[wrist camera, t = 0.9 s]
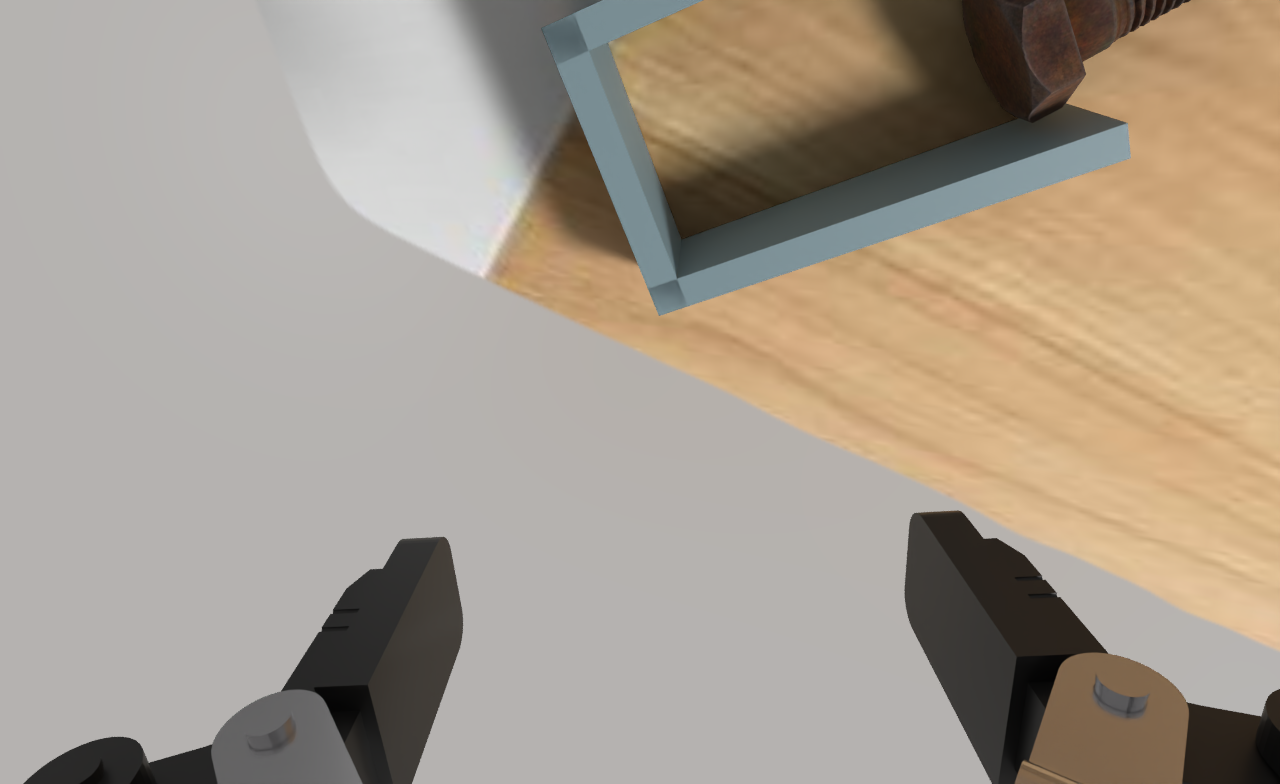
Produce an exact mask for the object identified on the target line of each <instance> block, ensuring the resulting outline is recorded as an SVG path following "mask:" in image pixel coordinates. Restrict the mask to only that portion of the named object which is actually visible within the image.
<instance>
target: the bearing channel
mask: <svg viewBox="0 0 1280 784" xmlns="http://www.w3.org/2000/svg"><path fill="white" fill-rule="evenodd" d="M700 1H703V0H602V1H599V2H597V3H595V4H593V5H591V6H588V7H586V8H584V9H582V10H580V11H578V12H575V13H573V14H571V15H569V16H567V17H565V18H562V19H560V20H558V21H556V22H554V23H551V24H549V25H547V26H545V27H543V28H541V29H542V31H543V34H544V36H545V39H546V41H547V43H548V46H549V48H550V51H551V53H552V56H553V58H554V61H555V63H556V65H557V68H558V70H559V73H560V75H561V78H562V80H563V83H564V85H565V87H566V90H567V92H568V95H569V97H570V100H571V102H572V104H573V107H574V109H575V112H576V114H577V117H578V119H579V122H580V124H581V126H582V129H583V131H584V134H585V136H586V139H587V141H588V144H589V146H590V148H591V151H592V153H593V156H594V158H595V161H596V163H597V166H598V168H599V170H600V173H601V175H602V178H603V180H604V183H605V185H606V187H607V190H608V192H609V195H610V197H611V200H612V202H613V205H614V207H615V209H616V212H617V214H618V217H619V219H620V222H621V224H622V227H623V229H624V231H625V234H626V236H627V239H628V241H629V244H630V246H631V249H632V251H633V253H634V256H635V258H636V261H637V263H638V266H639V268H640V270H641V273H642V275H643V278H644V280H645V283H646V285H647V288H648V290H649V292H650V295H651V297H652V300H653V302H654V305H655V307H656V310H657V312H658V314H659V316H660V315H663V314H666V313H669V312H672V311H675V310H678V309H681V308H684V307H687V306H690V305H693V304H696V303H699V302H702V301H705V300H708V299H711V298H714V297H717V296H720V295H723V294H726V293H729V292H732V291H735V290H738V289H741V288H744V287H747V286H750V285H753V284H756V283H759V282H762V281H765V280H768V279H771V278H774V277H777V276H780V275H783V274H786V273H789V272H792V271H795V270H798V269H801V268H804V267H807V266H810V265H813V264H816V263H819V262H822V261H825V260H828V259H831V258H834V257H837V256H840V255H843V254H846V253H849V252H852V251H855V250H858V249H861V248H864V247H867V246H870V245H873V244H876V243H879V242H882V241H885V240H888V239H891V238H894V237H897V236H900V235H903V234H906V233H909V232H912V231H914V230H917V229H920V228H923V227H926V226H929V225H932V224H935V223H938V222H941V221H944V220H947V219H950V218H953V217H956V216H959V215H962V214H965V213H968V212H971V211H974V210H977V209H980V208H983V207H986V206H989V205H992V204H995V203H998V202H1001V201H1004V200H1007V199H1010V198H1013V197H1016V196H1019V195H1022V194H1025V193H1028V192H1031V191H1034V190H1037V189H1040V188H1043V187H1046V186H1049V185H1052V184H1055V183H1058V182H1061V181H1064V180H1067V179H1070V178H1073V177H1076V176H1079V175H1082V174H1085V173H1088V172H1091V171H1094V170H1097V169H1100V168H1103V167H1106V166H1109V165H1112V164H1115V163H1118V162H1121V161H1124V160H1127V159H1130V158H1131V156H1130V145H1129V133H1128V123H1126V122H1123V121H1120V120H1116V119H1113V118H1110V117H1107V116H1104V115H1101V114H1097V113H1094V112H1091V111H1088V110H1085V109H1082V108H1079V107H1075V106H1072V105H1069V104H1066V103H1065V105H1064V106H1063V107H1062V108H1061V109H1059V110H1057V111H1055V112H1053V113H1051V114H1049V115H1047V116H1045V117H1043V118H1041V119H1040V120H1038V121H1036V122H1034V123H1031V122H1028V121H1025V120H1023V119H1020V118H1019V119H1016V120H1013V121H1010V122H1008V123H1005V124H1002V125H999V126H996V127H994V128H991V129H988V130H985V131H983V132H980V133H977V134H974V135H971V136H969V137H966V138H963V139H960V140H958V141H955V142H952V143H949V144H946V145H944V146H941V147H938V148H935V149H932V150H930V151H927V152H924V153H921V154H919V155H916V156H913V157H910V158H907V159H905V160H902V161H899V162H896V163H893V164H891V165H888V166H885V167H882V168H880V169H877V170H874V171H871V172H868V173H866V174H863V175H860V176H857V177H855V178H852V179H849V180H846V181H843V182H841V183H838V184H835V185H832V186H829V187H827V188H824V189H821V190H818V191H816V192H813V193H810V194H807V195H804V196H802V197H799V198H796V199H793V200H791V201H788V202H785V203H782V204H779V205H777V206H774V207H771V208H768V209H765V210H763V211H760V212H757V213H754V214H752V215H749V216H746V217H743V218H740V219H738V220H735V221H732V222H729V223H726V224H724V225H721V226H718V227H715V228H713V229H710V230H707V231H704V232H701V233H699V234H696V235H693V236H690V237H688V238H685V239H682V240H681V237H680V234H679V232H678V229H677V226H676V224H675V221H674V218H673V216H672V213H671V210H670V208H669V205H668V202H667V200H666V197H665V194H664V192H663V189H662V186H661V184H660V181H659V178H658V176H657V173H656V170H655V168H654V165H653V162H652V160H651V157H650V154H649V152H648V149H647V146H646V144H645V141H644V138H643V136H642V133H641V130H640V128H639V125H638V122H637V120H636V117H635V114H634V112H633V109H632V106H631V104H630V101H629V98H628V96H627V93H626V91H625V88H624V85H623V83H622V80H621V77H620V75H619V72H618V69H617V67H616V64H615V61H614V59H613V56H612V53H611V51H610V48H609V45H608V42H610V41H612V40H614V39H617V38H619V37H621V36H623V35H626V34H628V33H630V32H633V31H635V30H637V29H639V28H642V27H644V26H646V25H648V24H651V23H653V22H655V21H657V20H660V19H662V18H664V17H666V16H669V15H671V14H673V13H675V12H678V11H680V10H682V9H684V8H687V7H689V6H691V5H693V4H696V3H698V2H700Z"/></svg>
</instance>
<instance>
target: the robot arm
mask: <svg viewBox="0 0 1280 784" xmlns="http://www.w3.org/2000/svg"><path fill="white" fill-rule="evenodd" d="M1056 594H1057V593H1056V592H1055V591H1054V589H1053V588H1052V587H1051V586H1050V585H1049V583H1048V582H1047V581H1046V580H1042V575H1041V574H1040V573H1039V572H1038V571H1037V569H1036V568H1035V567H1034V566H1033V565H1032V564H1031V563H1030V561H1029V560H1028V559H1027V558H1026V557H1025V555H1023V554H1022V553H1020V552H1018V551H1016V550H1015V549H1013V548H1012V547H1010V546H1008V545H1007V544H1005V543H1004V542H1002V541H1000V540H999V539H997V538H992V539H983V537H982V536H981V535H980V534H979V532H978V531H977V530H976V529H975V528H974V526H973V525H972V523H971V522H970V521H969V520H968V518H967V517H966V516H965V515H964V514H963V513H962V512H961V511H942V512H924V513H914V514H913V515H912V517H911V520H910V526H909V538H908V551H907V565H906V578H905V602H906V609H907V614H908V618H909V621H910V624H911V627H912V629H913V631H914V633H915V634H916V637H917V639H918V641H919V642H920V644H921V646H922V648H923V650H924V652H925V654H926V656H927V658H928V660H929V662H930V664H931V666H932V668H933V670H934V672H935V674H936V675H937V677H938V679H939V681H940V683H941V685H942V687H943V689H944V691H945V693H946V695H947V697H948V699H949V700H950V703H951V705H952V707H953V709H954V710H955V712H956V714H957V716H958V718H959V720H960V722H961V724H962V726H963V728H964V730H965V732H966V734H967V736H968V738H969V739H970V741H971V743H972V745H973V747H974V749H975V751H976V753H977V755H978V757H979V759H980V761H981V763H982V765H983V767H984V769H985V771H986V773H987V774H988V777H989V778H990V780H991V782H992V784H1280V689H1279V690H1277V691H1274V692H1273V693H1272V694H1270V695H1269V696H1268V699H1267V701H1266V703H1265V706H1264V710H1263V713H1262V716H1255V715H1250V714H1244V713H1239V712H1233V711H1228V710H1222V709H1217V708H1211V707H1206V706H1200V705H1196V704H1191V703H1187V702H1186V700H1185V698H1184V697H1183V695H1182V694H1181V692H1180V691H1179V690H1178V689H1177V688H1176V687H1175V686H1174V685H1173V684H1172V683H1171V682H1170V681H1169V680H1168V679H1166V678H1165V677H1163V676H1162V675H1161V674H1159V673H1158V672H1156V671H1154V670H1152V669H1151V668H1149V667H1147V666H1145V665H1143V664H1141V663H1138V662H1135V661H1133V660H1130V659H1128V658H1124V657H1121V656H1117V655H1111V654H1108V653H1107V651H1106V650H1105V649H1104V648H1103V647H1102V645H1101V644H1100V643H1099V642H1098V641H1097V640H1096V638H1095V637H1094V636H1093V635H1092V634H1091V633H1090V631H1089V630H1088V629H1087V628H1086V627H1085V626H1084V624H1083V623H1082V622H1081V621H1080V620H1079V619H1078V618H1077V616H1076V615H1075V614H1074V613H1073V612H1072V610H1071V609H1070V608H1069V607H1068V606H1067V605H1066V603H1065V602H1064V601H1063V600H1062V599H1061V598H1060V597H1057V595H1056ZM462 633H463V614H462V607H461V602H460V596H459V591H458V586H457V581H456V575H455V570H454V565H453V559H452V554H451V549H450V545H449V543H448V540H447V539H446V538H445V537H433V538H414V539H402V540H400V541H399V542H398V544H397V546H396V547H395V549H394V551H393V552H392V554H391V556H390V558H389V559H388V561H387V563H386V565H385V566H384V568H383V569H373V570H372V569H371V570H369V571H368V572H367V573H365V574H364V575H363V576H362V577H360V578H359V579H358V580H357V581H355V582H354V583H353V584H352V585H351V586H349V587H348V588H347V589H346V590H345V592H344V593H343V595H342V597H341V598H340V600H339V601H338V603H337V605H336V606H335V608H334V609H333V614H330V616H329V617H328V619H327V620H326V622H325V623H324V625H323V627H322V632H319V633H318V634H317V636H316V637H315V639H314V641H313V642H312V644H311V645H310V647H309V648H308V650H307V652H306V653H305V655H304V656H303V658H302V659H301V661H300V663H299V664H298V666H297V667H296V669H295V671H294V672H293V674H292V675H291V677H290V678H289V680H288V681H287V683H286V684H285V686H284V688H283V689H282V691H281V692H277V693H274V694H271V695H268V696H265V697H263V698H261V699H259V700H257V701H255V702H253V703H251V704H249V705H248V706H246V707H244V708H243V709H241V710H240V711H239V712H238V713H236V714H235V715H234V716H232V718H230V719H229V720H228V721H227V722H226V723H225V724H224V726H223V727H222V728H221V729H220V731H219V732H218V734H217V735H216V737H215V739H214V742H213V744H212V745H209V746H206V747H203V748H199V749H196V750H192V751H189V752H185V753H182V754H178V755H175V756H171V757H168V758H164V759H161V760H157V761H154V762H150V763H148V761H147V758H146V756H145V753H144V751H143V749H142V747H141V745H140V744H139V743H138V742H137V741H136V740H133V739H131V738H126V737H110V738H104V739H99V740H95V741H92V742H89V743H86V744H83V745H81V746H79V747H76V748H74V749H72V750H70V751H68V752H66V753H64V754H62V755H61V756H59V757H57V758H56V759H54V760H52V761H50V762H49V763H47V764H46V765H45V766H43V767H42V768H41V769H39V770H38V771H37V772H36V773H35V774H33V775H32V776H31V777H30V778H29V779H28V780H27V781H26V782H25V783H24V784H412V782H413V779H414V776H415V773H416V770H417V767H418V765H419V762H420V759H421V756H422V753H423V751H424V748H425V744H426V742H427V739H428V736H429V734H430V731H431V728H432V725H433V722H434V719H435V717H436V714H437V711H438V708H439V705H440V702H441V700H442V697H443V694H444V691H445V688H446V685H447V683H448V680H449V676H450V674H451V671H452V669H453V666H454V663H455V660H456V657H457V654H458V652H459V648H460V645H461V640H462Z"/></svg>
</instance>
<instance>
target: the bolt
mask: <svg viewBox="0 0 1280 784" xmlns="http://www.w3.org/2000/svg"><path fill="white" fill-rule="evenodd" d="M1189 1H1190V0H962V5H963V18H964V24H965V29H966V34H967V37H968V40H969V42H970V45H971V48H972V51H973V55H974V58H975V61H976V63H977V65H978V67H979V69H980V71H981V73H982V75H983V77H984V79H985V81H986V83H987V85H988V86H989V88H990V89H991V91H992V93H993V94H994V96H995V98H996V99H997V101H998V102H999V104H1000V105H1001V107H1002V108H1003V109H1005V110H1006V111H1007V112H1009V113H1010V114H1012V115H1014V116H1016V117H1017V118H1020V119H1023V120H1025V121H1028V122H1031V123H1034V122H1036V121H1038V120H1040V119H1041V118H1043V117H1045V116H1047V115H1049V114H1051V113H1053V112H1055V111H1057V110H1059V109H1061V108H1062V107H1063V106H1064V105H1065V103H1066V102H1067V101H1068V99H1069V98H1070V96H1071V95H1072V94H1073V92H1074V91H1075V89H1076V88H1077V87H1078V85H1079V84H1080V82H1081V81H1082V79H1083V78H1084V77H1085V75H1086V72H1085V69H1084V66H1083V61H1085V60H1087V59H1088V58H1090V57H1092V56H1094V55H1096V54H1098V53H1099V52H1101V51H1103V50H1105V49H1107V48H1108V47H1109V46H1110V45H1111V44H1112V43H1113V42H1115V41H1116V40H1117V39H1118V38H1121V37H1123V36H1125V35H1127V34H1128V33H1129V32H1132V31H1135V30H1136V29H1138V28H1139V26H1144V25H1145V24H1147V23H1148V22H1150V20H1155V19H1157V18H1158V17H1159V16H1160V15H1163V14H1165V13H1168V12H1169V11H1170V10H1171V9H1175V8H1177V7H1179V6H1180V5H1181V4H1182V3H1186V2H1189Z"/></svg>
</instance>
